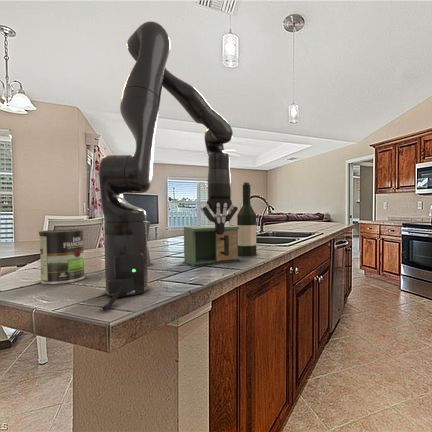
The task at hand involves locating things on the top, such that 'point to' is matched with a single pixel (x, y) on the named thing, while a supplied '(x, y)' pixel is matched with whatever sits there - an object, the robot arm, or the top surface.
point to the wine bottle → (246, 225)
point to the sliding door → (226, 246)
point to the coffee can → (61, 256)
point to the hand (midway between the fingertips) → (220, 234)
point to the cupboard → (203, 245)
